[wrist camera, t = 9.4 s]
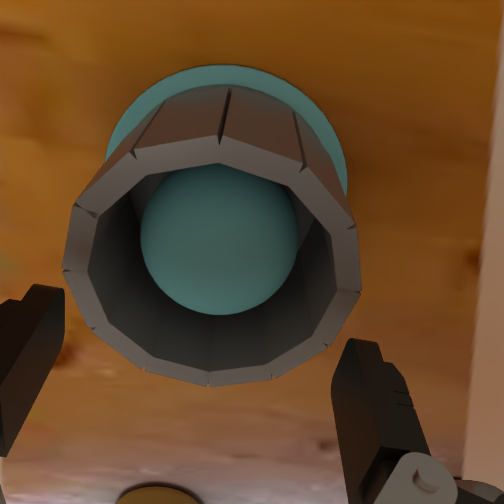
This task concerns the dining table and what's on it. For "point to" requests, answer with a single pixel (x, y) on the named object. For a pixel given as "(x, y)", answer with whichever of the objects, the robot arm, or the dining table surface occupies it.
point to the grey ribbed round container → (240, 157)
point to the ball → (219, 238)
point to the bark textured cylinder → (156, 496)
